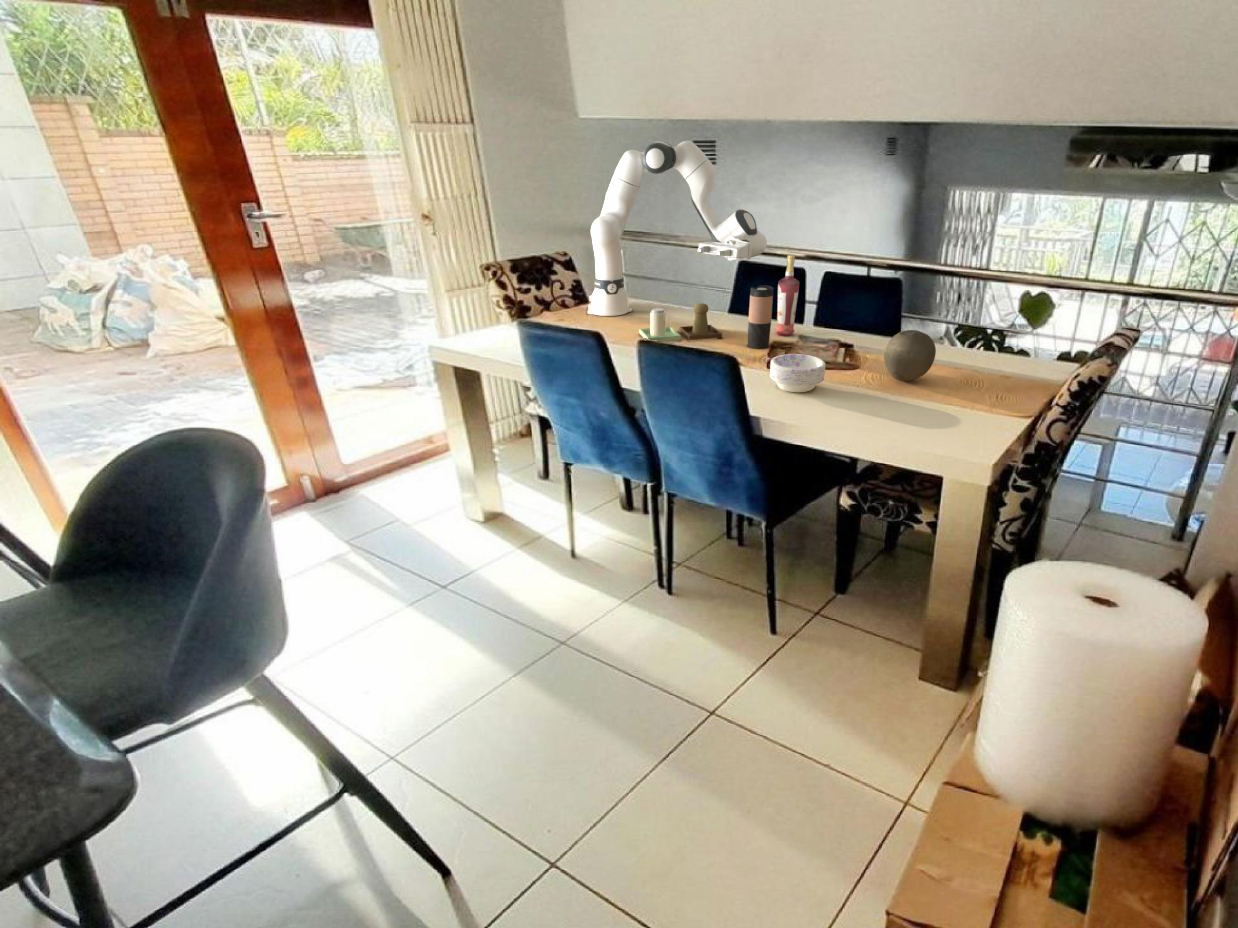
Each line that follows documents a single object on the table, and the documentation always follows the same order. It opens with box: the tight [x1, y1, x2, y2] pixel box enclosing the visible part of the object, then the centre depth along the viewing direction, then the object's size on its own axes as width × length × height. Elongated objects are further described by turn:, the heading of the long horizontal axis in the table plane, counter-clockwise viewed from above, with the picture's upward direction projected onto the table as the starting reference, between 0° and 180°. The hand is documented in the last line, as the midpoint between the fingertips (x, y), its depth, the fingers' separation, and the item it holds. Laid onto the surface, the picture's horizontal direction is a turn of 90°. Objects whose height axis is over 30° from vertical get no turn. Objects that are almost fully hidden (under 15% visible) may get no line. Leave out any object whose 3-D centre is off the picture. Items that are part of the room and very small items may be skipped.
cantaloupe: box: [883, 329, 937, 382], centre depth 203 cm, size 14×14×15 cm
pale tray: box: [638, 326, 682, 342], centre depth 255 cm, size 13×12×2 cm
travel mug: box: [747, 285, 774, 350], centre depth 239 cm, size 8×8×20 cm
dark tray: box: [678, 324, 723, 341], centre depth 257 cm, size 13×12×2 cm
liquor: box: [775, 254, 800, 337], centre depth 250 cm, size 7×7×28 cm
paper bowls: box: [769, 353, 827, 393], centre depth 201 cm, size 15×15×8 cm
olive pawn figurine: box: [692, 302, 709, 335], centre depth 255 cm, size 6×6×11 cm
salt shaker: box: [649, 307, 667, 337], centre depth 252 cm, size 6×6×10 cm
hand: (708, 252), depth 255 cm, fingers open, 8 cm apart
